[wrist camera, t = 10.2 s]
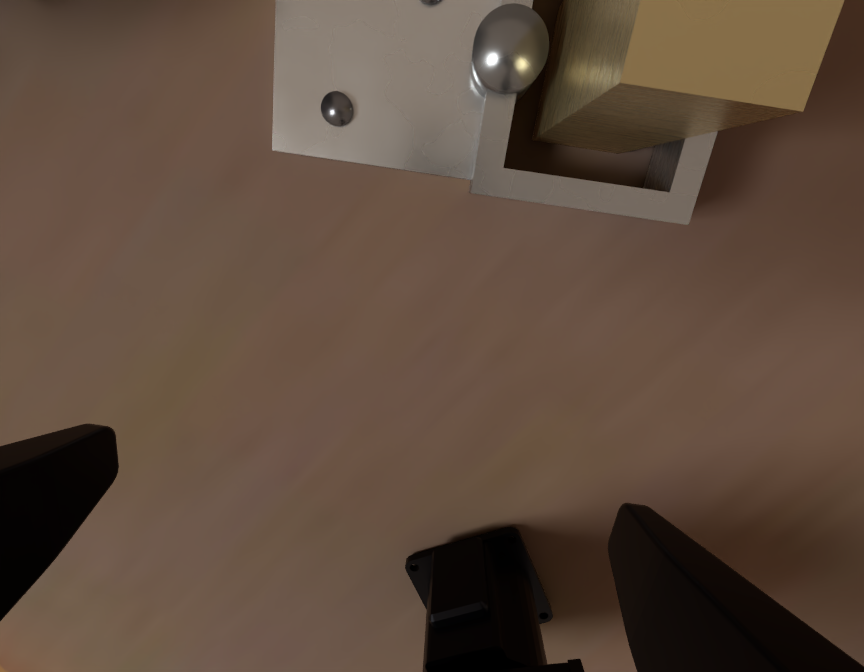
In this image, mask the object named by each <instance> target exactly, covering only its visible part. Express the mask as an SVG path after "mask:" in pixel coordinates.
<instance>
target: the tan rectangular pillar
mask: <svg viewBox="0 0 864 672" xmlns="http://www.w3.org/2000/svg"><path fill="white" fill-rule="evenodd" d="M843 3H844V0H563V2H562V4H561V6H560V7H559V9H558V14H557V19H556V24H555V29H554V34H553V38H552V43H551V48H550V53H549V58H548V63H547V68H546V73H545V78H544V83H543V88H542V93H541V98H540V103H539V108H538V112H537V117H536V122H535V127H534V132H533V137H532V140H534V141H541V142H547V143H553V144H560V145H566V146H572V147H579V148H585V149H591V150H598V151H604V152H610V153H617V154H619V153H623V152H628V151H632V150H636V149H641V148H645V147H650V146H654V145H658V144H663V143H667V142H672V141H676V140H680V139H685V138H689V137H694V136H698V135H702V134H707V133H711V132H716V131H720V130H724V129H729V128H733V127H738V126H742V125H746V124H751V123H755V122H760V121H764V120H768V119H773V118H777V117H782V116H786V115H790V114H795V113H799V112H803V110H804V108H805V105H806V102H807V100H808V97H809V94H810V92H811V89H812V86H813V84H814V81H815V78H816V75H817V73H818V70H819V67H820V65H821V62H822V59H823V57H824V54H825V51H826V49H827V46H828V43H829V41H830V38H831V35H832V33H833V30H834V27H835V24H836V22H837V19H838V16H839V14H840V11H841V8H842V6H843Z"/></svg>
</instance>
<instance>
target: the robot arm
mask: <svg viewBox="0 0 864 672" xmlns="http://www.w3.org/2000/svg"><path fill="white" fill-rule="evenodd" d="M118 468H119V464H118V454H117V444H116V435H115V432H114V430H113V429H112V428H110V427H108V426H102V425H95V424H82V425H79V426H75V427H71V428H67V429H64V430H60V431H56V432H52V433H49V434H45V435H41V436H37V437H34V438H30V439H26V440H22V441H18V442H15V443H11V444H7V445H3V446H0V621H1V620H2V619H3V618H4V617H5V615H6V614H7V613H8V612H9V611H10V610H11V609H12V608H13V607H14V605H15V604H16V603H17V602H18V601H19V600H20V599H21V598H22V596H23V595H24V594H25V593H26V592H27V591H28V590H29V589H30V587H31V586H32V585H33V584H34V583H35V582H36V581H37V580H38V579H39V577H40V576H41V575H42V574H43V573H44V572H45V570H46V569H47V568H48V567H49V566H50V565H51V563H52V562H53V561H54V560H55V559H56V557H57V556H58V555H59V554H60V552H61V551H62V550H63V548H64V547H65V546H66V545H67V543H68V542H69V541H70V539H71V538H72V537H73V535H74V534H75V533H76V531H77V530H78V529H79V527H80V526H81V525H82V523H83V522H84V521H85V519H86V518H87V517H88V515H89V514H90V513H91V511H92V510H93V509H94V507H95V506H96V505H97V503H98V502H99V501H100V499H101V498H102V497H103V495H104V494H105V493H106V491H107V490H108V489H109V487H110V486H111V485H112V483H113V482H114V480H115V478H116V476H117V473H118ZM510 536H513V537H514V538H512V539H509V538H508V537H510ZM608 553H609V558H610V563H611V567H612V572H613V576H614V581H615V585H616V590H617V594H618V599H619V603H620V608H621V612H622V617H623V621H624V626H625V630H626V634H627V638H628V642H629V646H630V650H631V653H632V656H633V659H634V663H635V666H636V669H637V672H864V666H862V665H861V664H860V663H858V662H857V661H856V660H854V659H853V658H852V657H850V656H849V655H848V654H846V653H845V652H843V651H842V650H841V649H839V648H838V647H837V646H835V645H834V644H833V643H831V642H830V641H829V640H827V639H826V638H825V637H823V636H822V635H821V634H819V633H818V632H817V631H815V630H814V629H812V628H811V627H810V626H808V625H807V624H806V623H804V622H803V621H802V620H800V619H799V618H798V617H796V616H795V615H794V614H792V613H791V612H790V611H788V610H787V609H786V608H784V607H783V606H781V605H780V604H779V603H777V602H776V601H775V600H773V599H772V598H771V597H769V596H768V595H767V594H765V593H764V592H763V591H761V590H760V589H759V588H757V587H756V586H755V585H753V584H752V583H750V582H749V581H748V580H746V579H745V578H744V577H742V576H741V575H740V574H738V573H737V572H736V571H734V570H733V569H732V568H730V567H729V566H728V565H726V564H725V563H724V562H722V561H721V560H720V559H718V558H717V557H715V556H714V555H713V554H711V553H710V552H709V551H707V550H706V549H705V548H703V547H702V546H701V545H699V544H698V543H697V542H695V541H694V540H693V539H691V538H690V537H689V536H687V535H686V534H685V533H683V532H682V531H680V530H679V529H678V528H676V527H675V526H674V525H672V524H671V523H670V522H668V521H667V520H666V519H664V518H663V517H662V516H660V515H659V514H658V513H656V512H655V511H654V510H652V509H651V508H649V507H648V506H645V505H638V504H631V503H625V504H622V505H621V507H620V508H619V510H618V513H617V517H616V520H615V523H614V526H613V529H612V532H611V535H610V538H609V543H608ZM412 564H416V565H417V566H414V565H412ZM405 569H406V571H407V573H408V575H409V577H410V579H411V581H412V583H413V585H414V587H415V588H416V590H417V592H418V594H419V596H420V598H421V600H422V602H423V604H424V606H425V608H426V609H427V614H426V630H425V645H424V661H423V672H584V669H583V666H582V663H581V660H580V659H573V660H568V663H558V664H548V665H547V660H546V655H545V650H544V645H543V640H542V634H541V629H540V624H542V623H546V622H548V621H550V620H551V619H552V617H553V614H552V610H551V606H550V604H549V602H548V599H547V597H546V594H545V592H544V590H543V587H542V585H541V582H540V580H539V578H538V575H537V573H536V570H535V568H534V566H533V563H532V561H531V559H530V556H529V554H528V551H527V549H526V547H525V544H524V542H523V539H522V537H521V535H520V532H519V531H518V530H517V529H516V528H513V527H507V528H504V529H500V530H497V531H493V532H490V533H486V534H483V535H480V536H476V537H473V538H469V539H466V540H462V541H459V542H455V543H452V544H448V545H445V546H442V547H438V548H435V549H431V550H428V551H424V552H421V553H417V554H414V555H411V556H409V557H408V558H407V559H406V565H405ZM543 612H544V613H543Z"/></svg>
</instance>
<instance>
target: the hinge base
mask: <svg viewBox="0 0 864 672" xmlns="http://www.w3.org/2000/svg"><path fill="white" fill-rule="evenodd" d="M532 4H533V0H276V13H275V54H274V94H273V135H272V150H273V151H278V152H284V153H290V154H297V155H304V156H311V157H318V158H324V159H331V160H338V161H345V162H352V163H358V164H365V165H372V166H379V167H385V168H392V169H399V170H406V171H413V172H419V173H426V174H433V175H440V176H447V177H453V178H460V179H467V180H471V182H470V188H469V193H475V194H481V195H488V196H495V197H502V198H509V199H515V200H522V201H529V202H536V203H542V204H549V205H556V206H563V207H570V208H576V209H583V210H590V211H597V212H603V213H610V214H617V215H624V216H631V217H637V218H644V219H651V220H658V221H665V222H671V223H678V224H685V225H689V222H690V219H691V215H692V212H693V209H694V206H695V203H696V199H697V196H698V193H699V190H700V187H701V184H702V180H703V177H704V174H705V171H706V168H707V164H708V161H709V158H710V155H711V152H712V148H713V145H714V142H715V139H716V136H717V132H718V131H716V132H711V133H707V134H702V135H698V136H694V137H689V138H685V139H680V140H676V141H672V142H667V143H663V144H658V145H655V146H654V149H653V153H652V156H651V160H650V164H649V167H648V171H647V175H646V178H645V182H644V186H643V188H636V187H630V186H623V185H616V184H609V183H602V182H596V181H589V180H582V179H575V178H569V177H562V176H555V175H548V174H541V173H535V172H528V171H521V170H514V169H507V168H503V167H504V161H505V156H506V150H507V144H508V139H509V133H510V128H511V122H512V116H513V111H514V105H515V103H516V102H517V101H518V100H519V99H521V98H522V96H523V95H524V94H525V93H526V91H527V90H528V89H529V87H530V86H531V84H532V83H533V82H534V80H535V79H536V78H537V76H538V75H539V73H540V72H541V70H542V69H543V67H544V65H545V63H546V60H547V56H548V52H549V36H548V31H547V28H546V26H545V24H544V22H543V20H542V19H541V17H540V16H539V15H538V14H537V13H536V12H535V11H534V10H533V9H532Z"/></svg>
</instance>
